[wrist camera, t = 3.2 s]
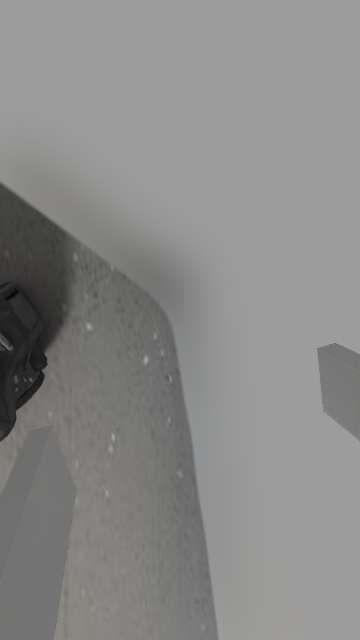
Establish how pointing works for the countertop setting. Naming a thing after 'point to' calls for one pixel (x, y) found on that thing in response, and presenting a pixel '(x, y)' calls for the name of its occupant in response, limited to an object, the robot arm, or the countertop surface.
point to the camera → (18, 354)
